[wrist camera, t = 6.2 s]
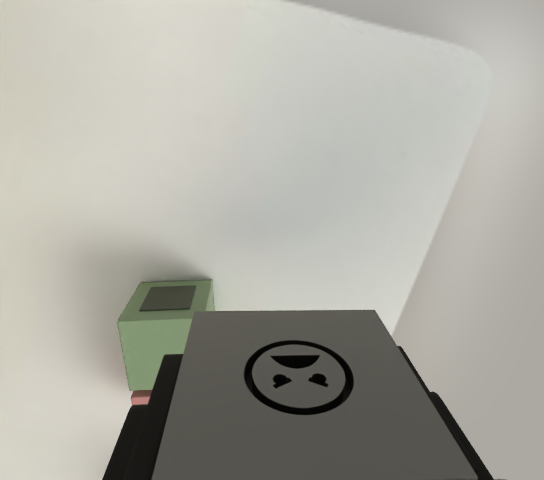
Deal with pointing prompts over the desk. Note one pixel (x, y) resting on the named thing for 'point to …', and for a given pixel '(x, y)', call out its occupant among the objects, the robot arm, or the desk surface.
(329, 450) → the dice cube
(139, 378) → the green cube
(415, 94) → the desk surface
